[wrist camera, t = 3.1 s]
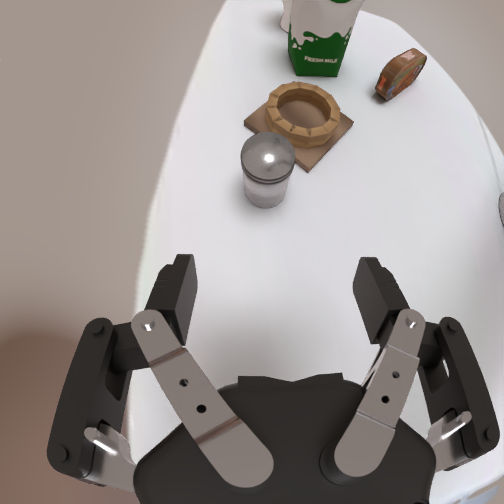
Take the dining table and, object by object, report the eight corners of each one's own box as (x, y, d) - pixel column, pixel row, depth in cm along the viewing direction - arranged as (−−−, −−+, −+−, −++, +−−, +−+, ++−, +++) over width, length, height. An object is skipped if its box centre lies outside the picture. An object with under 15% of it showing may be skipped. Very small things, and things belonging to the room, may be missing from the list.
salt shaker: (262, 163, 34) (265, 122, 25) (294, 188, 33) (307, 152, 24) (235, 190, 33) (228, 155, 24) (267, 217, 33) (271, 189, 24)
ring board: (292, 86, 36) (295, 68, 32) (351, 126, 35) (360, 110, 31) (244, 125, 35) (243, 107, 31) (308, 172, 33) (314, 157, 29)
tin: (380, 107, 35) (400, 74, 27) (365, 95, 36) (382, 61, 28) (416, 80, 37) (434, 54, 29) (404, 70, 37) (420, 43, 29)
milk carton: (292, 79, 36) (308, -26, 16) (281, 48, 38) (290, -44, 18) (343, 81, 36) (377, -14, 16) (328, 49, 38) (350, -36, 18)
